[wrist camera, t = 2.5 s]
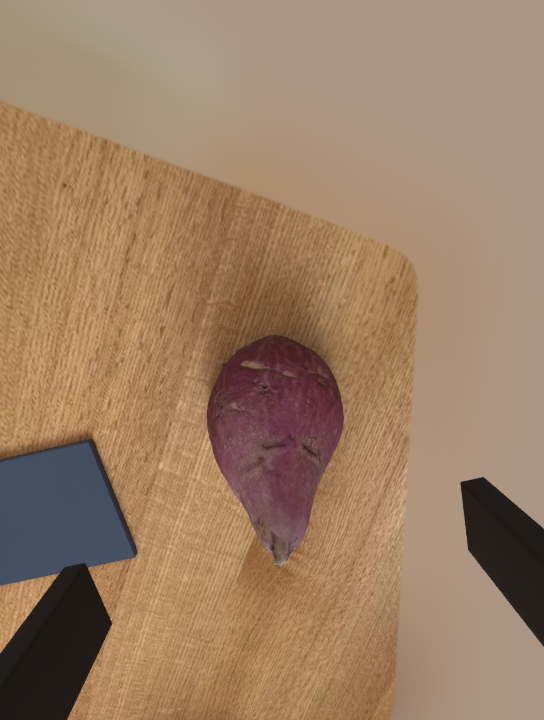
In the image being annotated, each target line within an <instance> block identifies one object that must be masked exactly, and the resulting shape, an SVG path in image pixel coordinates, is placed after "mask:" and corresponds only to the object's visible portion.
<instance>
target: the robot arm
mask: <svg viewBox="0 0 544 720" xmlns="http://www.w3.org/2000/svg"><path fill="white" fill-rule="evenodd" d="M461 491H462V500H463V509H464V517H465V526H466V535H467V543H468V550H469V551H470V553H471V554H472V555H473V556H474V558H475V559H476V560H477V562H478V563H479V564H480V566H481V567H482V568H483V569H484V571H485V572H486V573H487V574H488V576H489V577H490V578H491V580H492V581H493V582H494V583H495V585H496V586H497V587H498V589H499V590H500V591H501V592H502V594H503V595H504V596H505V598H506V599H507V600H508V601H509V603H510V604H511V605H512V606H513V608H514V609H515V610H516V612H517V613H518V614H519V615H520V617H521V618H522V619H523V621H524V622H525V623H526V625H527V626H528V627H529V628H530V630H531V631H532V632H533V633H534V635H535V636H536V637H537V639H538V640H539V641H540V642H541V644H542V645H543V646H544V529H543V528H542V527H541V526H540V525H539V524H538V523H536V522H535V521H534V520H533V519H531V517H529V516H528V515H527V514H526V513H525V512H524V511H522V510H521V509H520V508H519V507H518V506H517V505H515V504H514V503H513V502H512V501H511V500H509V499H508V498H507V497H506V496H505V495H504V494H503V493H501V492H500V491H499V490H498V489H497V488H496V487H494V486H493V485H492V484H491V483H490V482H488V481H487V480H486V479H485V478H484V477H482V478H477V479H472V480H468V481H463V482H461ZM111 625H112V622H111V620H110V617H109V615H108V613H107V611H106V608H105V606H104V604H103V602H102V599H101V597H100V595H99V593H98V590H97V588H96V586H95V584H94V581H93V579H92V577H91V575H90V572H89V570H88V568H87V566H86V563H81V564H77V565H72V566H67V567H64V568H63V570H62V571H61V572H60V574H59V575H58V576H57V578H56V579H55V580H54V582H53V583H52V585H51V586H50V587H49V589H48V590H47V591H46V593H45V594H44V595H43V597H42V598H41V599H40V601H39V602H38V603H37V605H36V606H35V608H34V609H33V610H32V612H31V613H30V614H29V616H28V617H27V618H26V620H25V621H24V622H23V624H22V625H21V626H20V628H19V629H18V630H17V632H16V633H15V635H14V636H13V637H12V639H11V640H10V641H9V643H8V644H7V645H6V647H5V648H4V649H3V651H2V652H1V653H0V720H67V719H68V717H69V714H70V712H71V710H72V708H73V706H74V704H75V702H76V700H77V697H78V695H79V693H80V691H81V689H82V687H83V685H84V683H85V680H86V678H87V676H88V674H89V672H90V670H91V668H92V666H93V663H94V661H95V659H96V657H97V655H98V653H99V651H100V648H101V646H102V644H103V642H104V640H105V638H106V636H107V634H108V631H109V629H110V627H111Z"/></svg>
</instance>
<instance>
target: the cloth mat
mask: <svg viewBox="0 0 544 720" xmlns="http://www.w3.org/2000/svg"><path fill="white" fill-rule="evenodd" d="M136 554H137V550H136V547H135V545H134V542H133V540H132V537H131V535H130V532H129V530H128V528H127V525H126V523H125V520H124V518H123V515H122V513H121V510H120V508H119V505H118V503H117V500H116V498H115V495H114V493H113V490H112V488H111V485H110V483H109V480H108V478H107V475H106V473H105V470H104V468H103V465H102V463H101V460H100V458H99V455H98V453H97V450H96V448H95V445H94V443H93V440H92V439H90V440H85V441H81V442H76V443H72V444H68V445H63V446H59V447H55V448H50V449H46V450H41V451H37V452H33V453H28V454H24V455H19V456H15V457H11V458H6V459H2V460H0V585H5V584H10V583H15V582H19V581H24V580H29V579H34V578H38V577H43V576H48V575H53V574H58V573H60V572H61V571H62V570H63V568H64V567H67V566H72V565H77V564H81V563H86V566H87V567H91V566H96V565H101V564H105V563H110V562H115V561H120V560H124V559H129V558H134V557H135V556H136Z"/></svg>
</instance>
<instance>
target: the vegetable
mask: <svg viewBox="0 0 544 720" xmlns="http://www.w3.org/2000/svg"><path fill="white" fill-rule="evenodd" d="M343 420H344V418H343V406H342V402H341V395H340V392H339V388H338V385H337V383H336V380H335V378H334V376H333V374H332V372H331V371H330V369H329V367H328V366H327V365H326V363H325V362H324V361H323V360H322V358H321V357H320V356H318V355H317V354H316V353H315V352H313V351H312V350H310V349H308V348H306V347H305V346H303V345H301V344H299V343H297V342H296V341H293V340H291V339H289V338H287V337H283V336H275V335H274V336H268V337H265V338H263V339H260V340H258V341H256V342H253V343H252V344H250V345H248V346H246V347H244V348H241V349H240V350H238V351H237V352H236V354H235V355H234V356H233V357H232V358H231V359H230V360H229V361H228V362H227V363H224V364H223V369H222V371H221V373H220V375H219V378H218V380H217V382H216V384H215V386H214V388H213V390H212V392H211V395H210V398H209V403H208V409H207V427H208V433H209V438H210V441H211V444H212V449H213V453H214V456H215V459H216V462H217V464H218V466H219V468H220V470H221V473H222V474H223V475H224V477H225V478H226V480H227V482H228V484H229V486H230V487H231V489H232V491H233V492H234V494H235V495H236V497H237V498H238V499H239V501H240V502H241V503H242V505H243V506H244V508H245V510H246V511H247V513H248V515H249V518H250V521H251V523H252V525H253V527H254V529H255V531H256V533H257V535H258V537H259V539H260V541H261V543H262V544H263V546H264V547H265V548H266V549H267V550H268V551H269V552H270V553H271V554H273V555H274V561H275V565H277V566H279V567H281V565H283V564H284V563H285V562H286V561H287V559H288V557H289V555H290V554H291V553H292V552H293V550H294V549H295V548H296V547H297V545H298V544H299V543H300V541H301V539H302V538H303V537H304V535H305V532H306V529H307V527H308V523H309V517H310V512H311V507H312V503H313V499H314V495H315V492H316V488H317V484H318V483H319V481H320V478H321V477H322V474H323V473H324V471H325V469H326V467H327V465H328V463H329V461H330V459H331V456H332V454H333V452H334V450H335V448H336V446H337V444H338V442H339V440H340V436H341V433H342V428H343Z"/></svg>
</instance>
